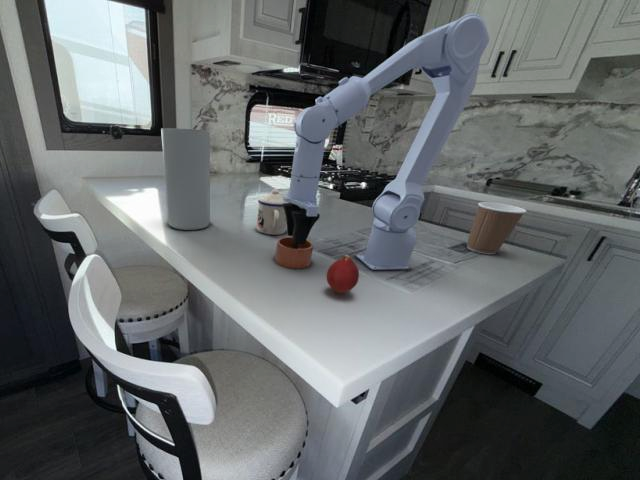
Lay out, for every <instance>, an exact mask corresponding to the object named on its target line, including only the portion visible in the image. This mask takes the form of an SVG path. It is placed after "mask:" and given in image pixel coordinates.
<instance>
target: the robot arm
mask: <svg viewBox="0 0 640 480" xmlns="http://www.w3.org/2000/svg"><path fill="white" fill-rule="evenodd" d="M489 43H490V35H489V32H488V28H487V24H486V21H485V19H484V18H483V16H481V15H479V14H478V13H468V14H465V15H463V16H461V17H460V18H458V19H457V20H454V21H452V22H449V23H446V24H444V25H442V26H439V27H434V28H432V29H430V30H429V31H427V32H426V33H425V34H423V35H420V36H418V37H417V38H414V39H413V40H411V41H409V42H408V43H407V44H405V45H404V46H403V47H400V49H399V50H398V51H396V52H395V53H394V54H392V55H391V56H390V57H389V58H387V59H385V60H384V61H383V62H382V63H380V64H379V65H378V66H377V67H375V68H374V69H373V70H371V71H370V72H369V73H367V74H366V75H365V76H363V77H360V76H356V75H352V76H351V77H349V78H348V76H345V77H343V78H342V79H340V80H339V81H338V86H337V87H335V88H334V89H333V90H331V91H330V92H328V93H327V94H326V95H324V96H323V97H322V96H318V97H317V98H315V105H313V106H309V107H306V108H304V109H303V110H302V111H301V112H299V114H298V117H297V118H296V119H295V120H296V121H295V122H294V124H293V129H294V132H295V135H296V140H295V148H294V151H293V152H294V153H293V159H292V166H291V173H290V183H289V190H287V196H283V201H285V202H289V203H283V208H284V211H285V215H286V222H287V224H286V232H287V233H286V234H287V237H292V236H293V229H294V242H295V244H305V242H306V240H308V237H309V235H310V233H311V230H312V229H313V227H314V225H315V224H316V222H317V221H318V220H319V219H320V217H321V215H320V213H319V209H320V206H319V205H318V201H317V194H318V189H319V182H320V176H321V170H322V165H323V159H324V154H325V152H324V151H325V146H326V140H327V139H328V138H329V137H330V136H331V135H332V132H333V130H334V129H337V128H338V127H339V126H341V125H342V124H344V123H345V122H347V121H348V120H349V119H351V118H352V117H354V116H356V114H358V113H360V112H362V111H363V110H364V109H366V108H367V106H368V104H369V101H370V98H371V96H372V95H374V94H375V93H376V92H378V91H380V90H381V89H382V88H384V87H386V86H388V85H389V84H391V83H393V82H394V81H395V80H396V79H398V78H400V77H401V76H403V75H405V74H406V73H407V72H409V71H410V70H416V69H420V70H421V71H422V72H423V73H424V75H425V76H426V77H427V78H428V79H429V80H430V82H431V83H432V85H433V87H434V90H435V97H434V99H433V101H432V103H431V104H430V107H429V109H428V111H427V113H426V115H425V117H424V119H423V121H422V123H421V126H420V127H419V129H418V131H417V134H416V136H415V138H414V140H413V142H412V144H411V146H410V148H409V150H408V152H407V153H406V156H405V159H404V160H403V163H402V165H401V167H400V169H399V170H398V172H397V175H396V177H395V179H393V180H391V181H390V182H389V183H387V184H386V186H385V187H384V189H383V191H382V192H381V193H380V194H379V195H378V196H377V197H376V199H374V201H373V203H372V206H371V212H372V215H373V217H374V218H373V223H372V225H371V226H372V227H371V229H370V234H369V238H368V241H367V245H366V248H365V251H364V254H356V258H357V259H359V260H360V261H361V262H362V263H363V264H364V265H366V267H368V268H369V269H370V270H372V271H383V270H385V271H386V270H387V271H389V270H391V271H392V270H409V268H410V266H408V265H409V263H410V262H409V261H410V259H411V257H412V254H413V251H414V248H415V246H416V242H417V235H416V234H417V233H416V232H415V230H414V229H413V227H414V226H415V225H416V223H417V222H418V221H419V219H420V216H421V208H422V205H423V203H424V201H425V195H424V190H423V186H424V183H425V182H426V180H427V178H428V176H429V175H430V172H431V170H432V169H433V167H434V164H435V163H436V161H437V159H438V157H439V156H440V154H441V151H443V148H444V147H445V144H446V142H447V141H448V139H449V137H450V135H451V133H452V131H453V129H454V128H455V126H456V124H457V122H458V120H459V118H460V117H461V114H462V113H463V111H464V108H465V107H466V105H467V103H468V102H469V99H470V98H471V95H472V94H473V93H474V90H475V88H476V85H477V79H478V74H479V68H480V63H481V58H482V56H483V54H484V52H485V50H486V49H487V47H488V45H489Z"/></svg>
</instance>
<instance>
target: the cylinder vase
mask: <svg viewBox="0 0 640 480" xmlns="http://www.w3.org/2000/svg"><path fill="white" fill-rule="evenodd" d="M160 132H161V133H160V135H161V147H162V160H163V161H162V163H163V174H164V175H163V176H164V177H163V178H164V191H165V204H166V205H165V206H166V217H167V225H169V226H170V227H171V228H173V229H176V230H181V231H197V230H202V229H205V228H207V227H209V226H210V223H211V131H210V130H207V129H206V130H205V129H193V128H178V127H177V128H174V127H173V128H171V127H164V128H162V127H161V128H160Z"/></svg>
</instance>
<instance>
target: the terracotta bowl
mask: <svg viewBox="0 0 640 480" xmlns="http://www.w3.org/2000/svg"><path fill="white" fill-rule="evenodd" d="M291 243H292V236H284V237H280V238H278V239H277V241H276V247H275V248H276V249H275V256H274V257H275V258H274V260H275V262H276V263H277V264H278V265H280V266H283V267H285V268H290V269H305V268H307V267H309V266H310V265H311V261H312V256H313V250H314V243H313V242H312V241H311V240H309V239H307V240H306V242H305V244H298V247H300V248H301V249H294V248H289V247H291Z"/></svg>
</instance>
